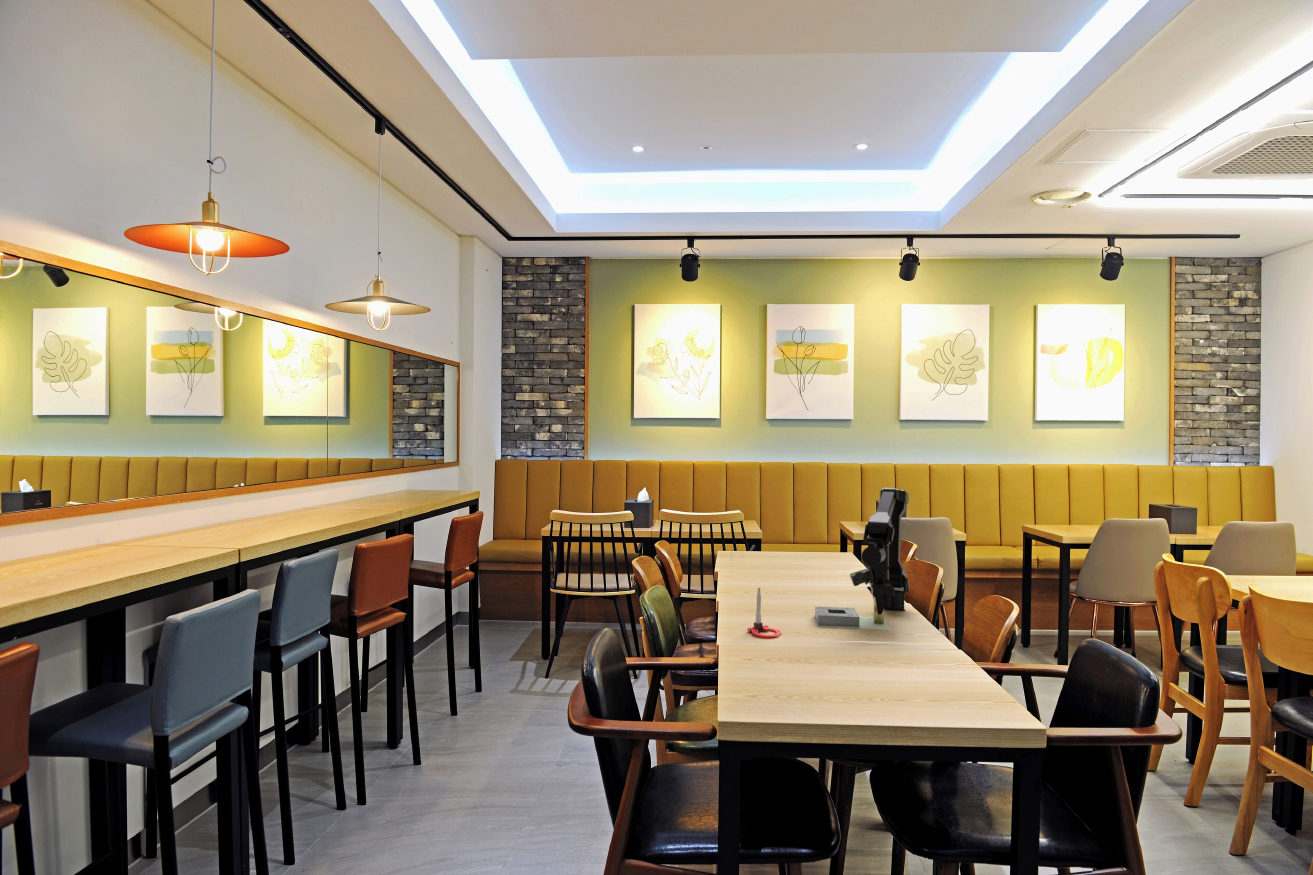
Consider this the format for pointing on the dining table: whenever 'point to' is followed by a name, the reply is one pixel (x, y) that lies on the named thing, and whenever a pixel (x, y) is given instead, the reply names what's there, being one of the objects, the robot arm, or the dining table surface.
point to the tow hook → (759, 625)
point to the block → (836, 616)
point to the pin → (878, 615)
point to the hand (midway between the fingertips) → (878, 612)
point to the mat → (866, 624)
